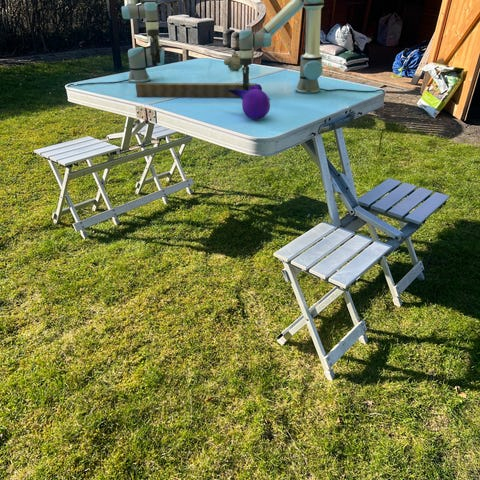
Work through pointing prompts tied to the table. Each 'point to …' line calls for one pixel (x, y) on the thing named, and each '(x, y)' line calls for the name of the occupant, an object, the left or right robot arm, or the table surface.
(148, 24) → the left robot arm
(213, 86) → the bar
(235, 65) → the teapot
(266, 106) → the toy
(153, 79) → the table surface
